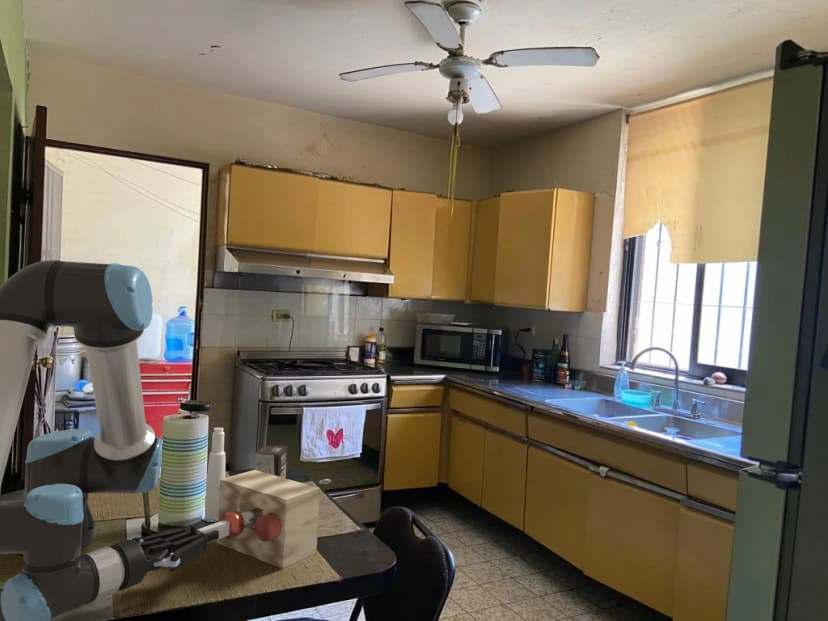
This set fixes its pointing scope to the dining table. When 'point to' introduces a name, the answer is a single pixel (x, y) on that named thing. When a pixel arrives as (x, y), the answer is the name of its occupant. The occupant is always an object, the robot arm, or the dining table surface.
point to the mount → (272, 516)
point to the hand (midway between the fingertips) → (226, 527)
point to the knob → (240, 520)
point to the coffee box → (271, 460)
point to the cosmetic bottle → (215, 474)
